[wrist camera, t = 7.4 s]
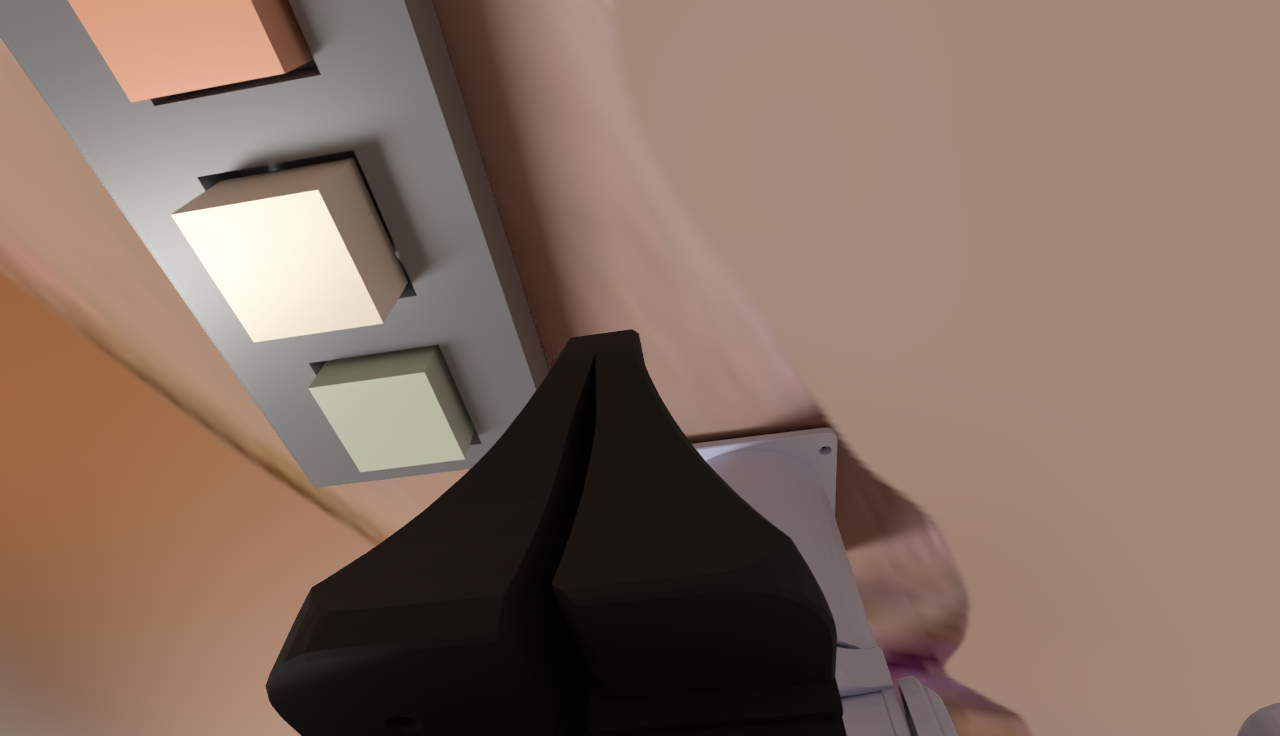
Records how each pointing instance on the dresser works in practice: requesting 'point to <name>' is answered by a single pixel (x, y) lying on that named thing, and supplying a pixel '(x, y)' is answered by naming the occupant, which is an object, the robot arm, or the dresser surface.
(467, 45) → the dresser surface
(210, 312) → the grey flat frame
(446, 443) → the sage key
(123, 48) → the terracotta key
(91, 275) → the dresser surface
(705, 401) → the dresser surface
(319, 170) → the cream key
